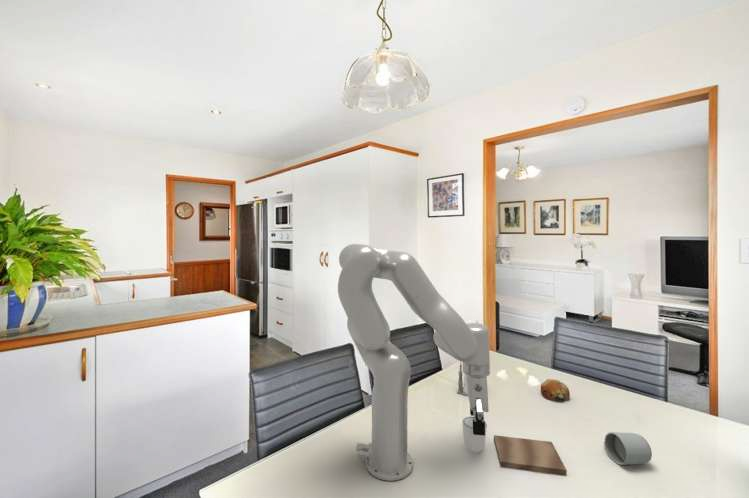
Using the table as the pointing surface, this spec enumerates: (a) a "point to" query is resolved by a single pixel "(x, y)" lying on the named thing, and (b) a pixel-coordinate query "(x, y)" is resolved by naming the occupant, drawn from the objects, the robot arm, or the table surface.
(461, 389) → the skyscraper
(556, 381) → the bread roll
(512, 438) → the walnut board
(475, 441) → the white short cylinder
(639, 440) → the ceramic mug
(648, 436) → the table surface
